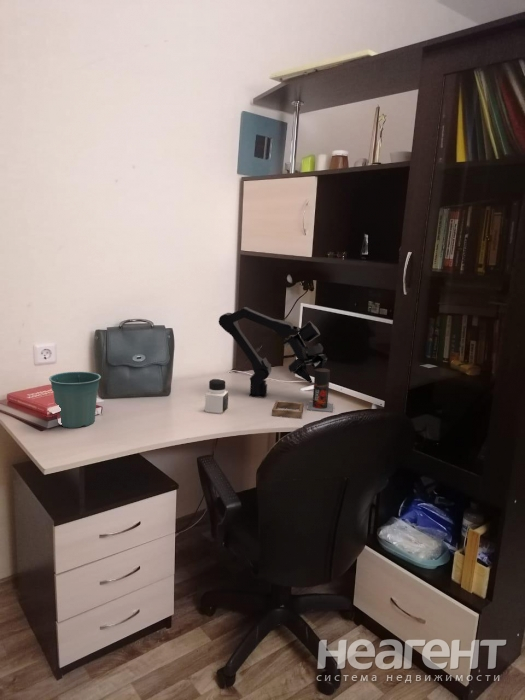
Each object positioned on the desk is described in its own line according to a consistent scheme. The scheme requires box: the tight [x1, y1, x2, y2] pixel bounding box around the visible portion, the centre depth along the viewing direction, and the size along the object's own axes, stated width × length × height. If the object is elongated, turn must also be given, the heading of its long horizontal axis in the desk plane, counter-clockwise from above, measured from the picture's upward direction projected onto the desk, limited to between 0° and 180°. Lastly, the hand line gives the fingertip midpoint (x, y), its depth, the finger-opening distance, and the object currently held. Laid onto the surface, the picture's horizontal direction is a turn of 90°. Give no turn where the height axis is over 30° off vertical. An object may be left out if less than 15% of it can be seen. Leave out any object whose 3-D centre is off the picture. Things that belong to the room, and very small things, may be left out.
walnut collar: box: [271, 400, 304, 419], centre depth 191 cm, size 11×11×2 cm
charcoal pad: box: [306, 401, 334, 413], centre depth 199 cm, size 10×10×1 cm
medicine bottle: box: [204, 378, 229, 415], centre depth 189 cm, size 7×7×12 cm
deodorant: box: [312, 367, 331, 409], centre depth 198 cm, size 6×6×15 cm
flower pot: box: [48, 371, 102, 429], centre depth 170 cm, size 16×16×16 cm
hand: (318, 380), depth 198 cm, fingers open, 9 cm apart
